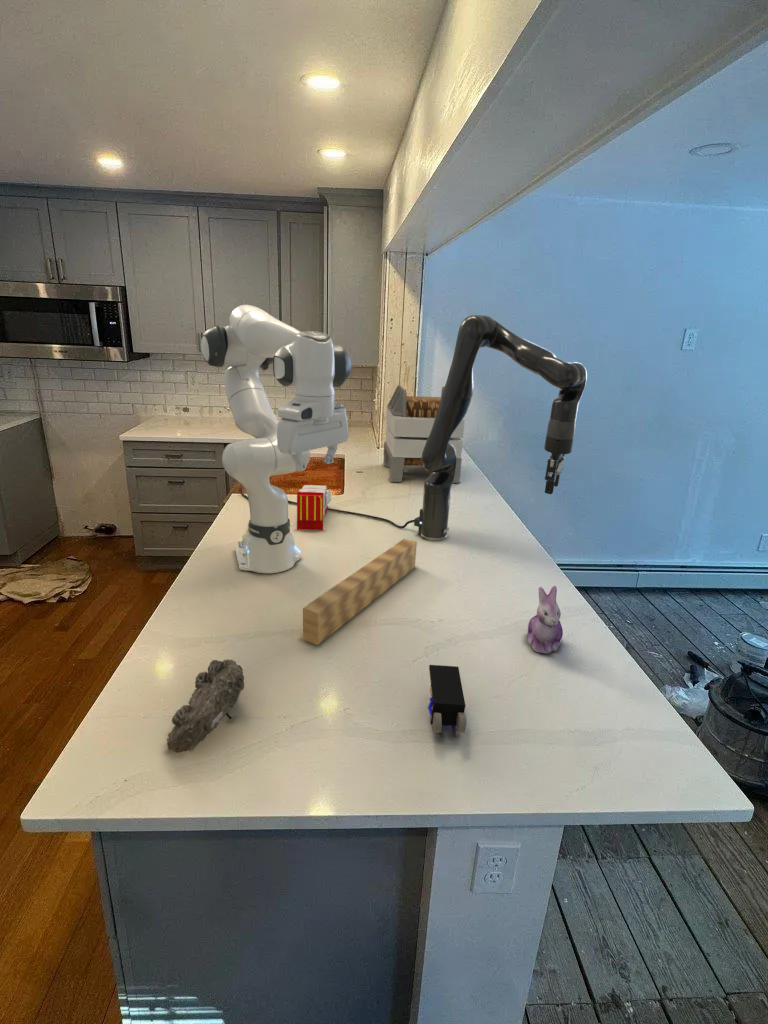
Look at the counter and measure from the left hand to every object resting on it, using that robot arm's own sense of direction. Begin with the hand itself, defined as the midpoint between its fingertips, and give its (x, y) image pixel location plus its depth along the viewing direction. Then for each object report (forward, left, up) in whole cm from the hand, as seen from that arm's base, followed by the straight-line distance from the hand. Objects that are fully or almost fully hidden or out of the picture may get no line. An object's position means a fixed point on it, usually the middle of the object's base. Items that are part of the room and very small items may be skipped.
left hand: (315, 466), depth 132 cm
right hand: (+7, +72, -12) cm, 73 cm away
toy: (-65, +28, -39) cm, 81 cm away
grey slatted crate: (-100, +100, -39) cm, 147 cm away
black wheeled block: (+47, +6, -39) cm, 62 cm away
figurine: (+37, +43, -39) cm, 69 cm away
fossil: (+26, -33, -39) cm, 58 cm away
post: (-2, +16, -39) cm, 42 cm away
